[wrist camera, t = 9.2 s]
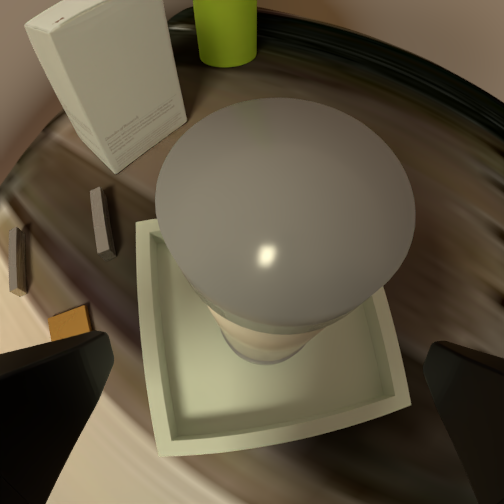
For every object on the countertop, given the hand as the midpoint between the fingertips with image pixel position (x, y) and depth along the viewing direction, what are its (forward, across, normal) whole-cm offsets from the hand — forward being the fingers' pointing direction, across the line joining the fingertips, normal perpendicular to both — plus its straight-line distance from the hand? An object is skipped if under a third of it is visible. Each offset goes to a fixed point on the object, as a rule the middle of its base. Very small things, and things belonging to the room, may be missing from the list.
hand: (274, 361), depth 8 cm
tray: (+8, 0, -4) cm, 9 cm away
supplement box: (+19, -12, +6) cm, 23 cm away
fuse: (+8, 0, -4) cm, 9 cm away
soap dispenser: (+27, -5, +15) cm, 31 cm away
